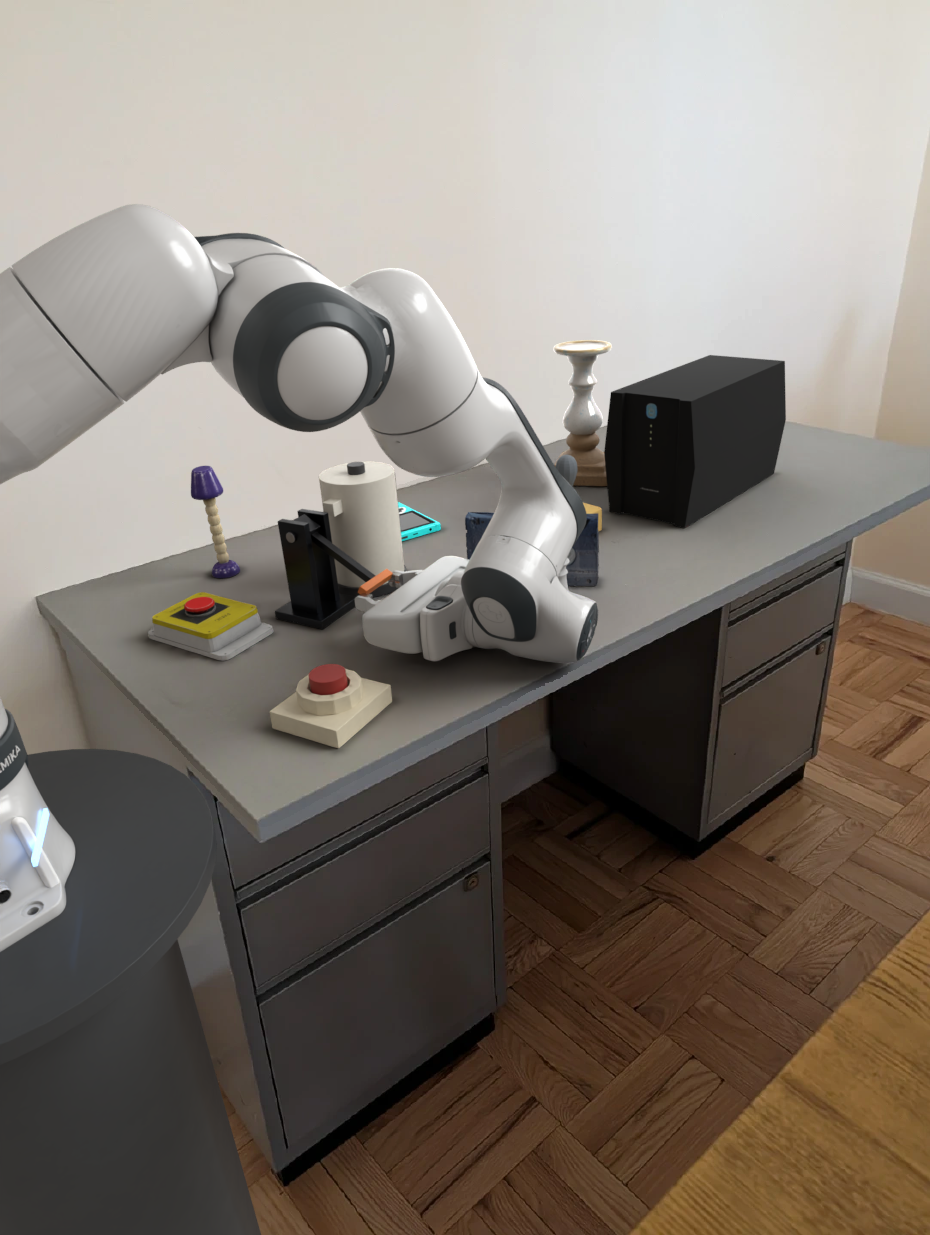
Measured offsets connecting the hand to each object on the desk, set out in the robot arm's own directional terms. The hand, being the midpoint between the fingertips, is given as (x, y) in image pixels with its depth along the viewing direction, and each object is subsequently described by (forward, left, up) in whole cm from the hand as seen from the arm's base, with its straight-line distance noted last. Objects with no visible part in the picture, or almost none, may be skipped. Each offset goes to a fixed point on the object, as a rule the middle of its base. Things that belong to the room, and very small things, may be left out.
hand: (374, 589), depth 115 cm
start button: (-20, -8, -2) cm, 22 cm away
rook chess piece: (+13, -20, -6) cm, 24 cm away
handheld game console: (+32, +19, -5) cm, 38 cm away
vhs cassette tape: (+20, -13, -6) cm, 24 cm away
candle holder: (+66, -1, -6) cm, 66 cm away
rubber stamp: (+41, -9, -5) cm, 42 cm away
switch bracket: (0, +10, -5) cm, 12 cm away
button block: (-20, -8, -5) cm, 22 cm away
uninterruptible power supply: (+65, -23, -5) cm, 69 cm away
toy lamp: (+5, +32, -5) cm, 33 cm away
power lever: (0, +6, +3) cm, 7 cm away
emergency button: (-11, +20, -5) cm, 23 cm away
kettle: (+11, +9, -5) cm, 15 cm away
